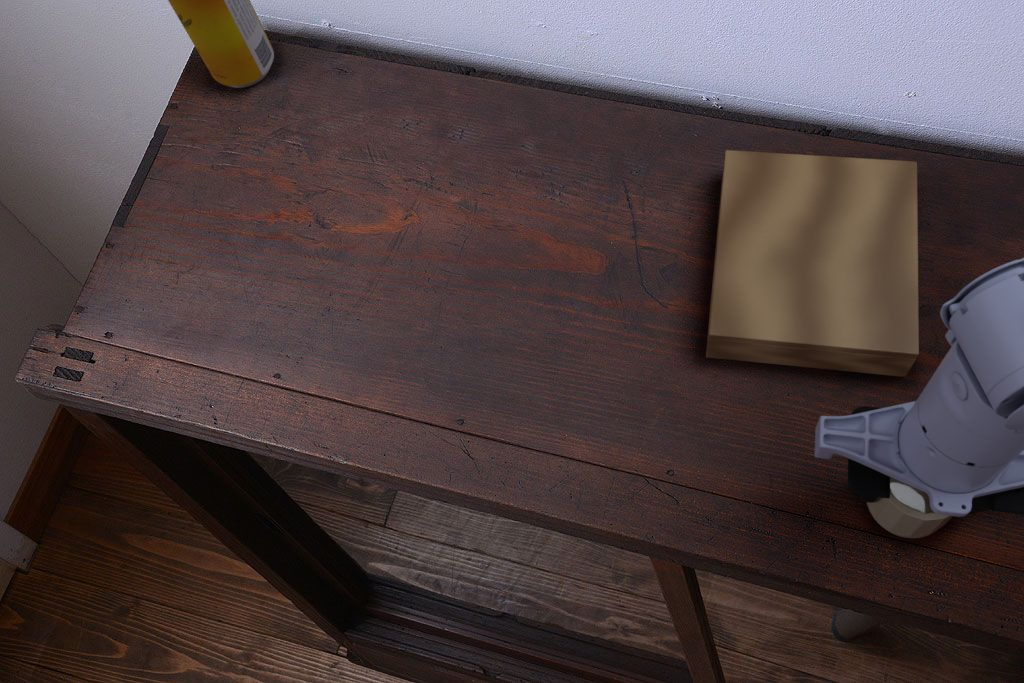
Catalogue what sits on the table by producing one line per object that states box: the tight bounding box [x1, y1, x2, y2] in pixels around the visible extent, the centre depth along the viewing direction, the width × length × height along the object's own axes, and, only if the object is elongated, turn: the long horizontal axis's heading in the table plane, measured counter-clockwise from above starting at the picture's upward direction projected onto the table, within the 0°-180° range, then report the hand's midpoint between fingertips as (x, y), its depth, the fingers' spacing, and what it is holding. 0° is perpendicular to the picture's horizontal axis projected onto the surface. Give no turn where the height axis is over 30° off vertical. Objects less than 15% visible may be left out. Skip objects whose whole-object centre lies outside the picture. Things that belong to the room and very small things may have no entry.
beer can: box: [167, 0, 275, 89], centre depth 83 cm, size 6×6×15 cm
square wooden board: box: [705, 149, 920, 378], centre depth 72 cm, size 14×16×4 cm
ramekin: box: [866, 477, 954, 539], centre depth 63 cm, size 5×5×4 cm
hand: (911, 493), depth 64 cm, fingers closed on ramekin, 5 cm apart
